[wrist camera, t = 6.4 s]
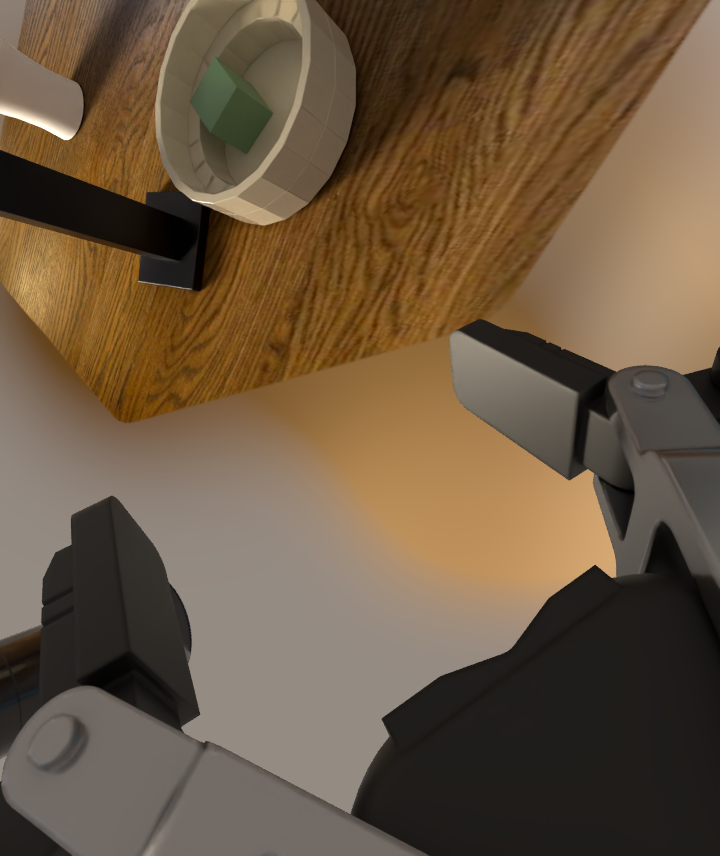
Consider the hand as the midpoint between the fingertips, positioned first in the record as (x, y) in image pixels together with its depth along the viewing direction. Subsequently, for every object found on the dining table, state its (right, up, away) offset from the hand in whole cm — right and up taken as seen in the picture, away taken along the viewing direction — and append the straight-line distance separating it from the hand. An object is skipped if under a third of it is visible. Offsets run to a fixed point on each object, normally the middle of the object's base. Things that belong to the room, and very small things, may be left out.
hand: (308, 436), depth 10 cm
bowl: (-6, +26, +29) cm, 39 cm away
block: (-8, +27, +30) cm, 41 cm away
